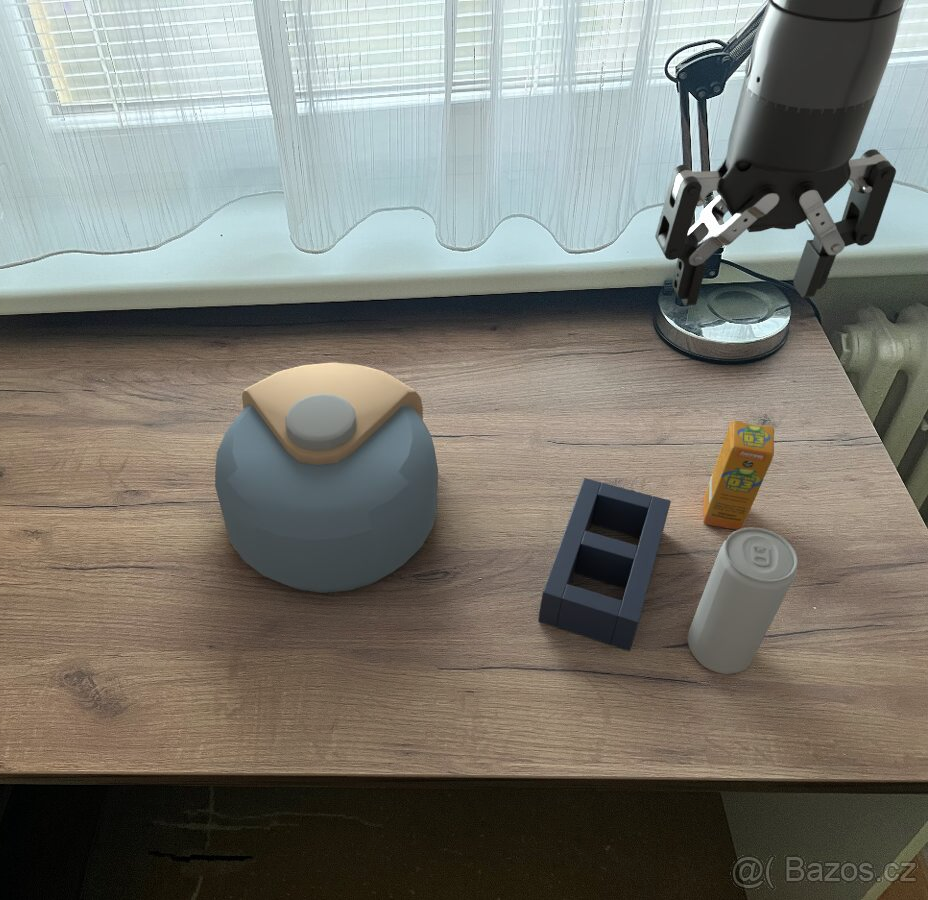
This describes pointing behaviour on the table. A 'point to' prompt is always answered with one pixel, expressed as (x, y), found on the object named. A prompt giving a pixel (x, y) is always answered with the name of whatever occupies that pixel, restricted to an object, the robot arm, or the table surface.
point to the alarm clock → (328, 476)
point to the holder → (604, 563)
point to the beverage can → (741, 599)
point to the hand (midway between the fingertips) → (744, 295)
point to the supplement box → (738, 474)
